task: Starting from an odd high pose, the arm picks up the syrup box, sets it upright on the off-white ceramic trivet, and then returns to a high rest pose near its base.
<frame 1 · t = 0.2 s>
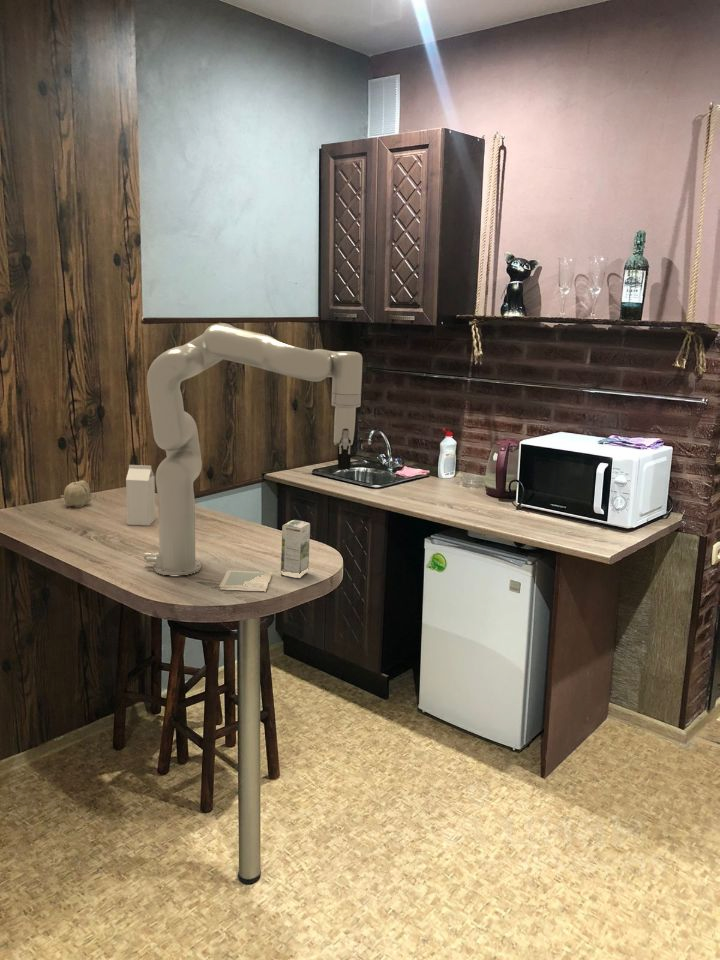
hand: (343, 464, 209), 31 cm above the counter, fingers open, 9 cm apart
beige lumpy ball: (76, 506, 273), on the counter
milk carton: (141, 523, 258), on the counter
trivet: (246, 582, 208), on the counter
syrup box: (294, 575, 216), on the counter
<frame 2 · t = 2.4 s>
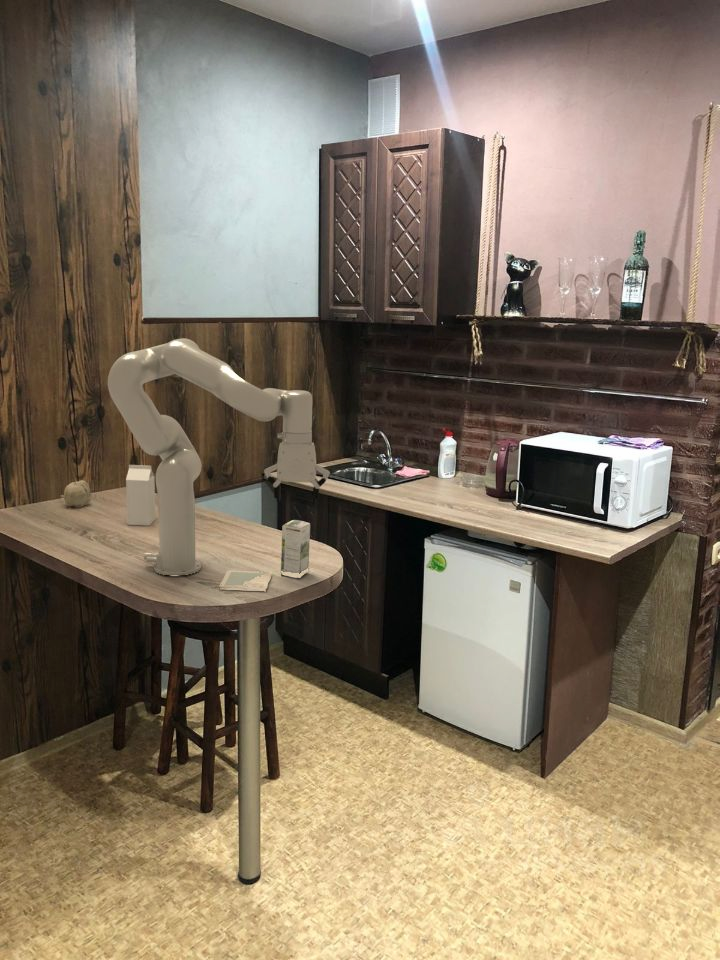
hand: (296, 501, 211), 21 cm above the counter, fingers open, 9 cm apart
nothing on the counter moved.
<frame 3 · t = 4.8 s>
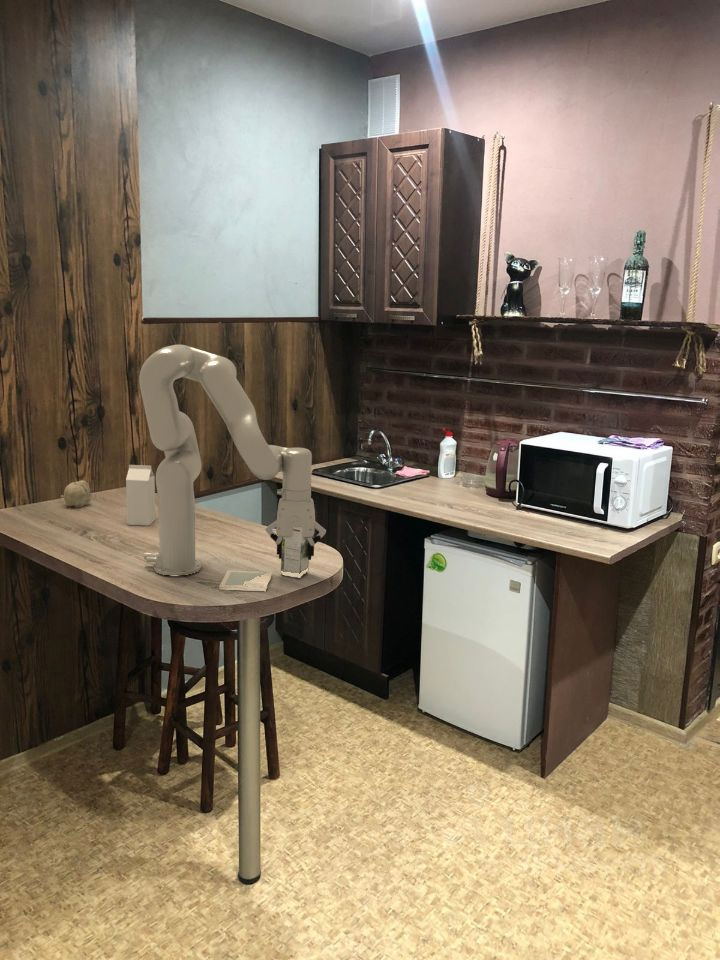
hand: (295, 557, 215), 5 cm above the counter, fingers closed on syrup box, 7 cm apart
syrup box: (294, 575, 216), on the counter, touching gripper
everything else where it was.
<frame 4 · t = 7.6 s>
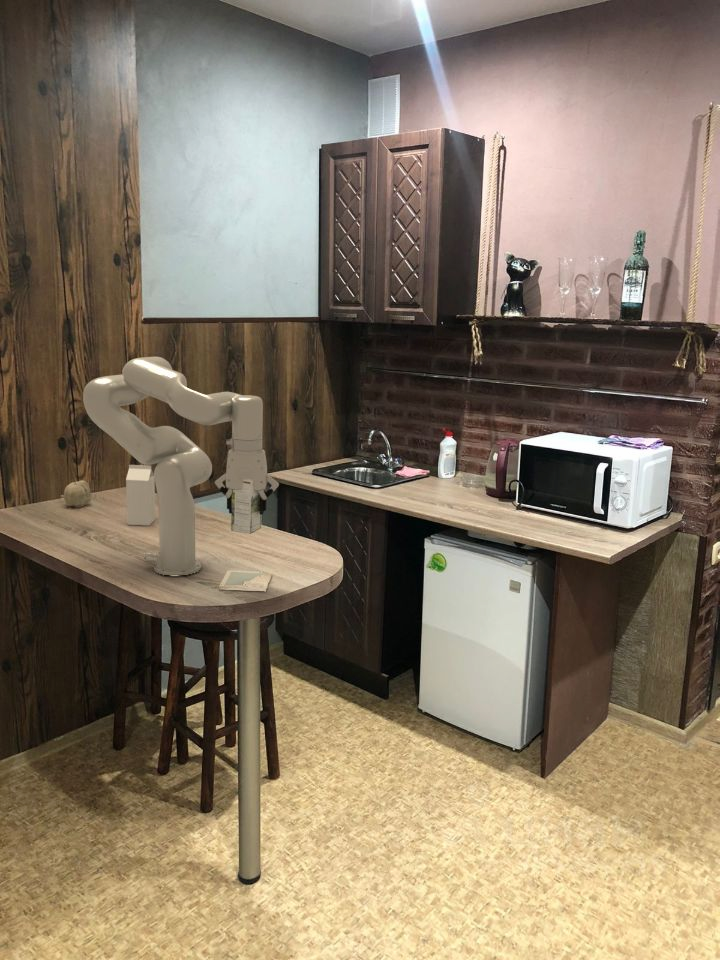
hand: (246, 512, 204), 19 cm above the counter, fingers closed on syrup box, 7 cm apart
syrup box: (246, 531, 205), point 14 cm above the counter, touching gripper
everything else where it was.
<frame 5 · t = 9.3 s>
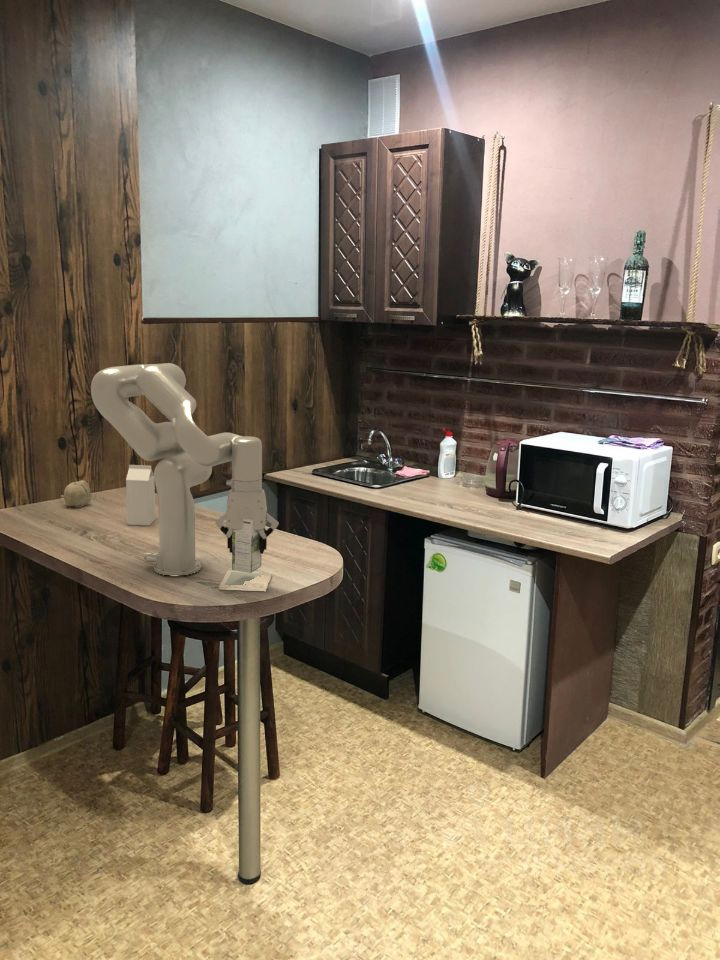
hand: (247, 551, 206), 9 cm above the counter, fingers closed on syrup box, 7 cm apart
syrup box: (247, 569, 207), point 4 cm above the counter, touching gripper
everything else where it was.
when the fingers open (7 cm above the counter, at t = 10.7 s): syrup box stays where it is, resting on trivet.
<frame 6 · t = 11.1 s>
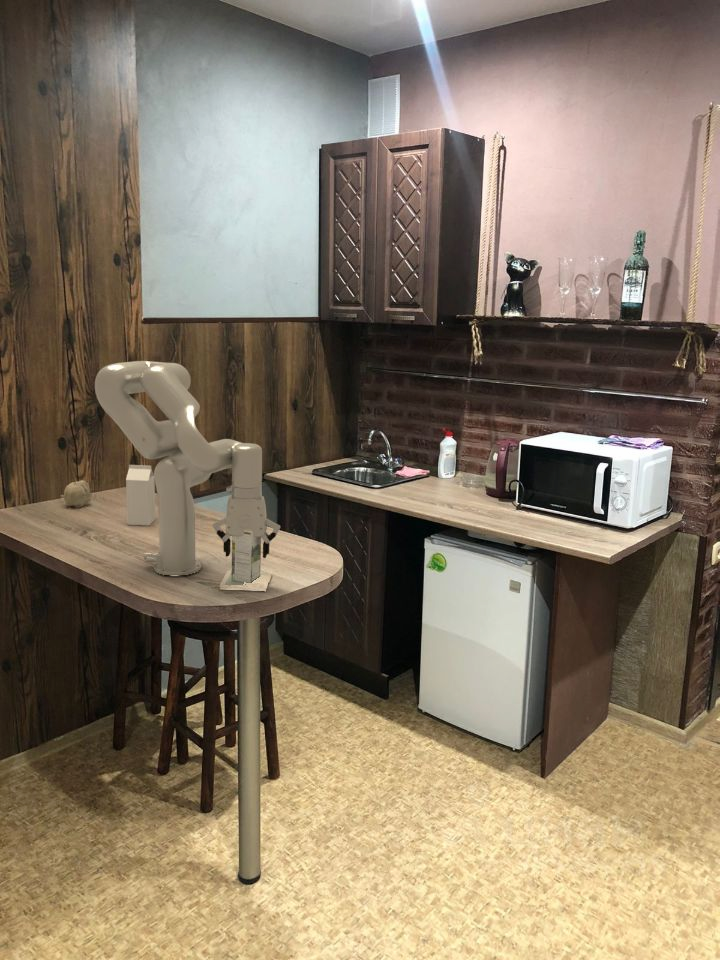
hand: (246, 555, 207), 7 cm above the counter, fingers open, 9 cm apart
syrup box: (246, 579, 208), point 1 cm above the counter, touching trivet
everything else where it was.
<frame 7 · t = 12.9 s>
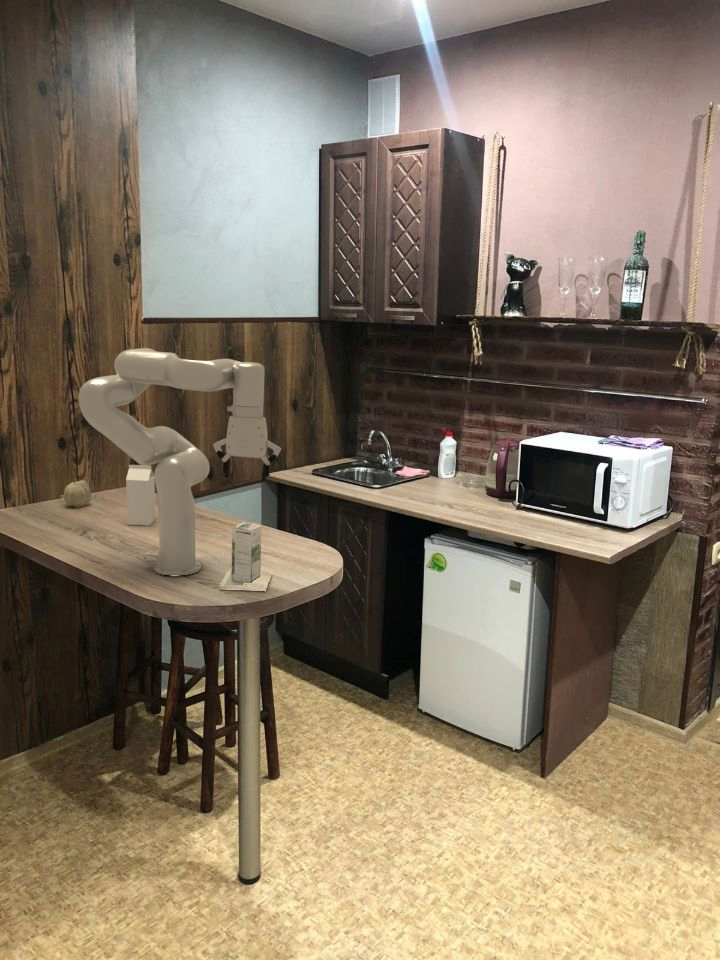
hand: (246, 477, 204), 28 cm above the counter, fingers open, 9 cm apart
nothing on the counter moved.
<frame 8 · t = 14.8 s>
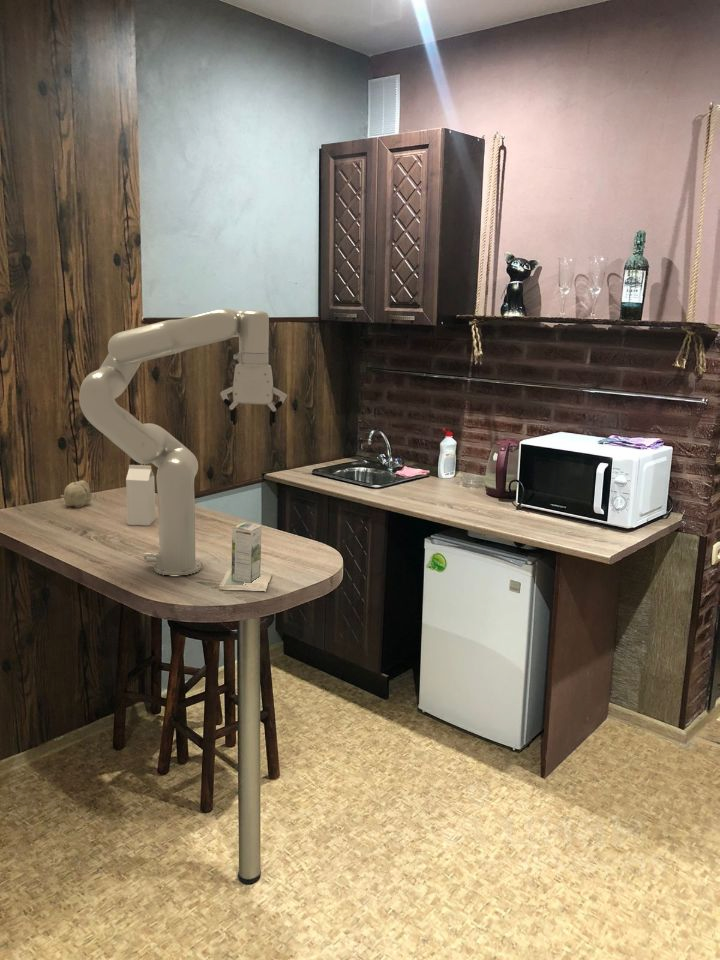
hand: (253, 424, 209), 40 cm above the counter, fingers open, 9 cm apart
nothing on the counter moved.
at the end: syrup box inside the target area on the trivet (0.0 cm from its centre), point 0.9 cm above the trivet's base; syrup box tilted 0°; the gripper is holding nothing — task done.
